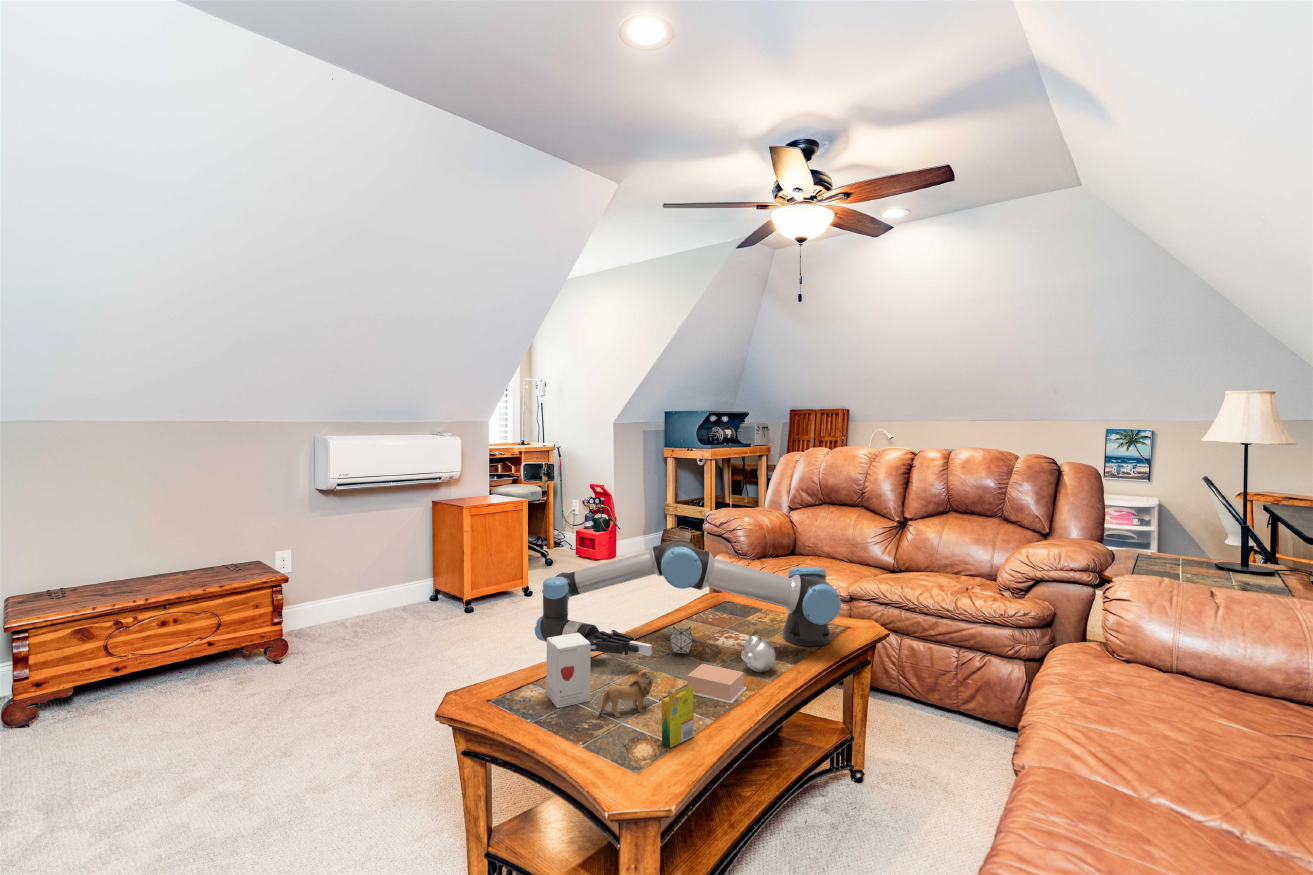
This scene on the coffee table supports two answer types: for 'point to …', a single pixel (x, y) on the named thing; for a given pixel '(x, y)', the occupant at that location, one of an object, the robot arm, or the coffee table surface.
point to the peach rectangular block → (716, 681)
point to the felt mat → (723, 699)
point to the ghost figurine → (758, 654)
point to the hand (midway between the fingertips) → (650, 650)
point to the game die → (681, 640)
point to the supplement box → (568, 669)
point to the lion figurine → (629, 693)
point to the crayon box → (677, 717)
